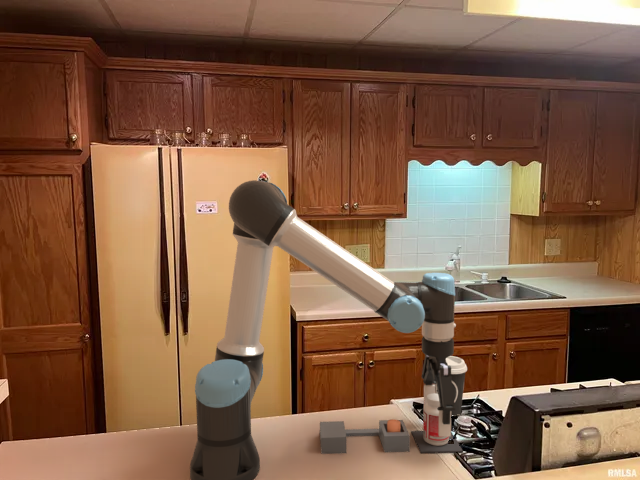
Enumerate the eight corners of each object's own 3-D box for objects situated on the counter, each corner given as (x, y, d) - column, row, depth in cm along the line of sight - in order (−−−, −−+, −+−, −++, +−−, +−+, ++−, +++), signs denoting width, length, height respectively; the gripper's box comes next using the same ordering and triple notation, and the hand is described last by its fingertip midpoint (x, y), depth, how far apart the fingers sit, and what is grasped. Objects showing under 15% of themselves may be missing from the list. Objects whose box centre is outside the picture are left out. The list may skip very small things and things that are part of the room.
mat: (420, 453, 113) (420, 451, 113) (411, 432, 123) (411, 430, 123) (462, 452, 113) (462, 450, 113) (450, 431, 123) (450, 430, 123)
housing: (321, 453, 113) (321, 437, 113) (319, 433, 123) (319, 418, 123) (409, 451, 114) (409, 435, 113) (400, 431, 124) (401, 416, 123)
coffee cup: (470, 420, 129) (472, 366, 128) (435, 420, 130) (436, 366, 128) (461, 404, 139) (462, 354, 137) (428, 404, 139) (428, 354, 138)
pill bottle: (454, 442, 117) (455, 398, 116) (436, 449, 114) (437, 404, 113) (435, 431, 122) (435, 389, 121) (417, 438, 119) (418, 395, 118)
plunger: (388, 445, 116) (388, 425, 116) (386, 438, 119) (386, 419, 119) (401, 445, 116) (401, 425, 116) (398, 438, 119) (399, 419, 119)
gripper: (471, 354, 103) (469, 448, 105) (438, 323, 128) (437, 399, 130) (436, 354, 103) (435, 448, 105) (410, 323, 128) (409, 400, 130)
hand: (436, 422), depth 118 cm, fingers open, 13 cm apart
